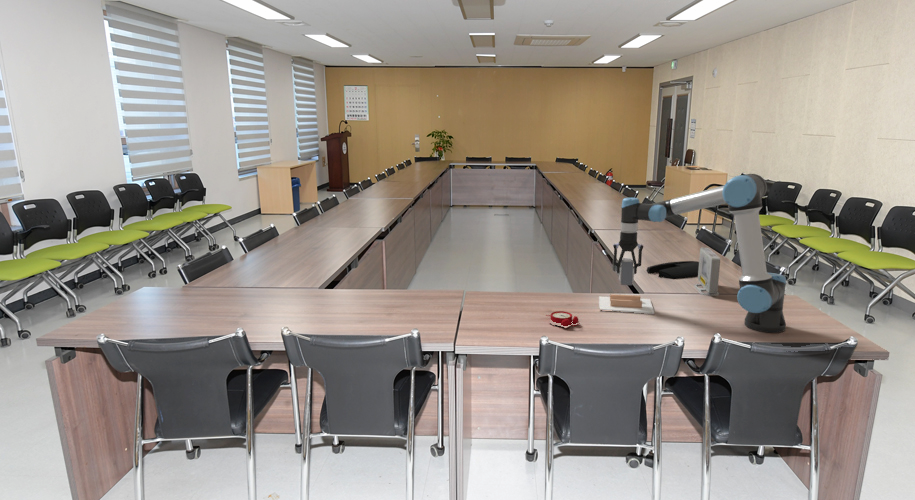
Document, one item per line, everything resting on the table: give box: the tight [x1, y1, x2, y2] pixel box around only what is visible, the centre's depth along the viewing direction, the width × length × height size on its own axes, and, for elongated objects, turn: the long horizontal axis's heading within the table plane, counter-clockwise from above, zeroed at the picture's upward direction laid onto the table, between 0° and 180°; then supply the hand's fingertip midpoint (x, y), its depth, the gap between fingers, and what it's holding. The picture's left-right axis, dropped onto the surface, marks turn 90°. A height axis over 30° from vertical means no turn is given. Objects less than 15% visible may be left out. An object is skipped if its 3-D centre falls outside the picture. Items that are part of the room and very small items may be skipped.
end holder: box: [598, 293, 655, 315], centre depth 257 cm, size 20×24×4 cm
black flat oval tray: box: [646, 260, 699, 280], centre depth 316 cm, size 25×41×5 cm, turn 111°
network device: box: [693, 247, 721, 297], centre depth 278 cm, size 26×9×20 cm, turn 168°
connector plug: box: [619, 257, 634, 286], centre depth 254 cm, size 5×5×12 cm
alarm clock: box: [545, 310, 580, 327], centre depth 235 cm, size 10×6×15 cm
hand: (626, 280), depth 255 cm, fingers closed on connector plug, 5 cm apart
